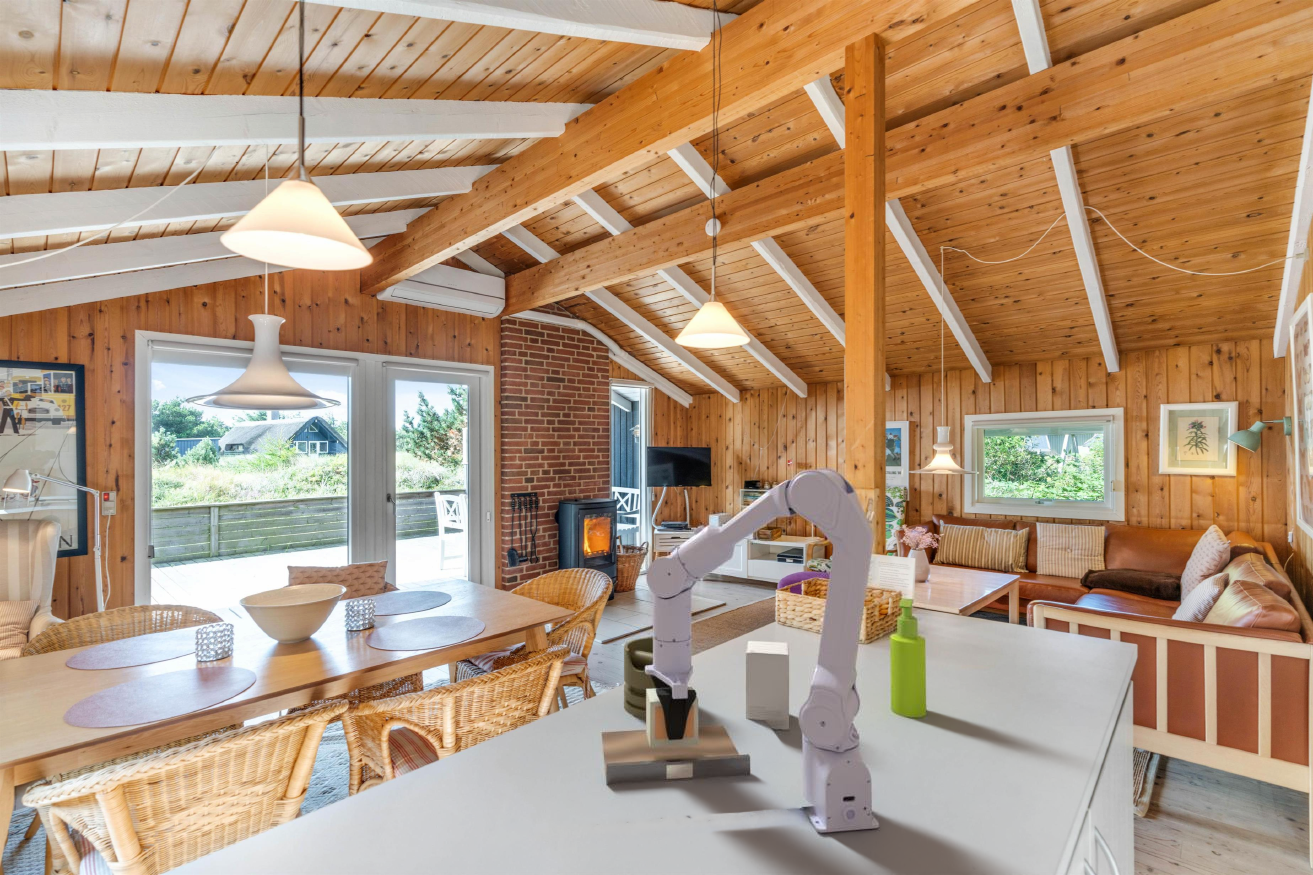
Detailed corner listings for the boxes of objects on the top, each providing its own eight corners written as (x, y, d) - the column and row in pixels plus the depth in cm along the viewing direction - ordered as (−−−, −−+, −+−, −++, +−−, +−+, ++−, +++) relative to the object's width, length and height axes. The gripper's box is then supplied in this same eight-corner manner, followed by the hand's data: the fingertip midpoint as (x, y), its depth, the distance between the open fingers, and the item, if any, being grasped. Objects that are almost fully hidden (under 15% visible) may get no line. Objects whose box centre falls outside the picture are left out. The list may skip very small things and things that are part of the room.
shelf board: (750, 785, 86) (750, 774, 86) (606, 795, 84) (606, 784, 84) (723, 734, 102) (723, 725, 102) (601, 741, 100) (601, 732, 100)
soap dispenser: (888, 715, 110) (886, 601, 110) (893, 702, 116) (891, 594, 116) (924, 722, 107) (922, 605, 107) (927, 708, 113) (925, 597, 113)
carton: (646, 732, 94) (646, 688, 94) (691, 729, 95) (691, 686, 95) (650, 748, 88) (650, 702, 89) (698, 745, 89) (698, 700, 89)
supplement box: (789, 731, 103) (789, 654, 104) (744, 727, 105) (744, 651, 105) (789, 713, 111) (788, 641, 111) (747, 709, 112) (747, 639, 113)
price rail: (750, 775, 86) (750, 757, 86) (606, 785, 84) (606, 766, 84) (748, 771, 87) (748, 754, 87) (606, 781, 85) (606, 763, 85)
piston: (646, 633, 118) (698, 643, 112) (646, 697, 118) (698, 710, 112) (611, 649, 109) (666, 660, 103) (611, 718, 109) (666, 733, 103)
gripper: (640, 624, 99) (640, 710, 98) (651, 653, 84) (651, 754, 84) (684, 622, 99) (684, 708, 99) (702, 650, 85) (702, 751, 85)
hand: (672, 729), depth 91 cm, fingers closed on carton, 5 cm apart
